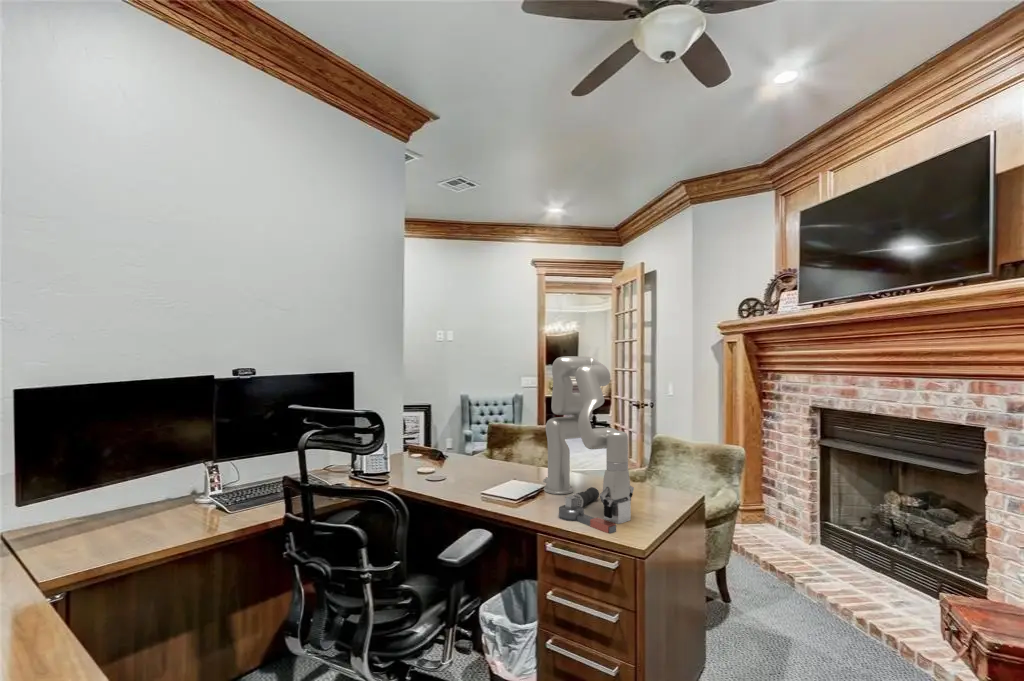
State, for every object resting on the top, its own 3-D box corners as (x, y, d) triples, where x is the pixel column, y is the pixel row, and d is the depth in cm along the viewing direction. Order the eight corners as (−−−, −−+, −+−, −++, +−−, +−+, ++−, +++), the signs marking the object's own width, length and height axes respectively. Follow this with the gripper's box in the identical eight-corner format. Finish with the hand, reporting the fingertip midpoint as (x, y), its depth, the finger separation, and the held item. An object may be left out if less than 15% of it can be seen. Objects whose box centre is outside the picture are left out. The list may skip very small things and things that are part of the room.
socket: (603, 519, 173) (603, 499, 173) (616, 515, 177) (616, 496, 178) (618, 524, 168) (618, 503, 168) (630, 520, 172) (630, 500, 172)
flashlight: (588, 498, 200) (588, 485, 200) (600, 500, 196) (600, 487, 197) (570, 507, 187) (570, 493, 187) (582, 510, 184) (583, 495, 184)
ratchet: (621, 529, 163) (621, 508, 163) (603, 535, 157) (603, 513, 157) (571, 511, 182) (571, 492, 182) (553, 516, 176) (553, 496, 176)
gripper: (624, 461, 182) (624, 507, 181) (592, 467, 171) (592, 516, 170) (640, 464, 176) (641, 512, 175) (609, 471, 165) (609, 522, 164)
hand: (617, 514), depth 173 cm, fingers open, 9 cm apart
